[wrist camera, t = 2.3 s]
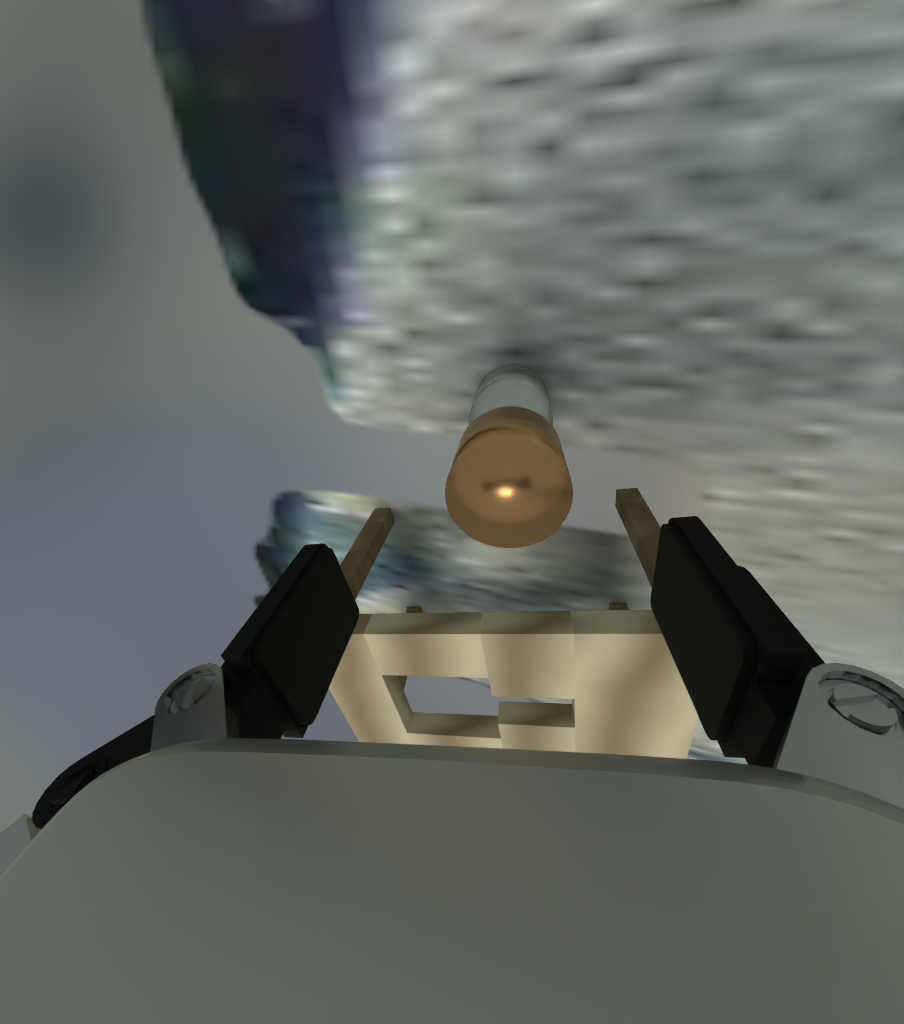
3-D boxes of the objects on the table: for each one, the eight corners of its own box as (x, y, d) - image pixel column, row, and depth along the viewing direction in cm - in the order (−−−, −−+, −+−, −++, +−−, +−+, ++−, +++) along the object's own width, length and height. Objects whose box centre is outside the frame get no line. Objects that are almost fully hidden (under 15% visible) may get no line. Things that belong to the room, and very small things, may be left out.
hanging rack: (637, 487, 28) (723, 633, 17) (625, 614, 35) (680, 779, 24) (374, 509, 33) (297, 634, 21) (410, 617, 40) (367, 755, 28)
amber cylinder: (544, 358, 24) (572, 429, 13) (547, 430, 27) (573, 544, 15) (471, 370, 25) (434, 446, 14) (481, 438, 28) (456, 550, 16)
